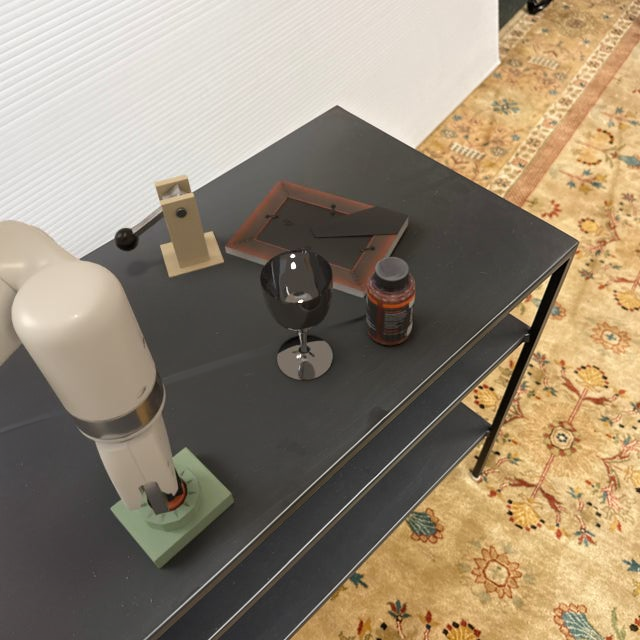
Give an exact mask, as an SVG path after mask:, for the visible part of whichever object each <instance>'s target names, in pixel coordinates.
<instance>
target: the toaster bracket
mask: <svg viewBox="0 0 640 640" xmlns="http://www.w3.org/2000/svg"><path fill="white" fill-rule="evenodd" d="M153 184H154V187H155V190H156V193H157V197H158V200H159V203H160V206H161V207H162V210H163V213H164V217H163V218H164V220H165V224H166V227H167V230H168V233H169V237H170V242H167V243H163V244H160V245H159V247H160V250H161V254H162V257H163V261H164V264H165V268H166V272H167V274H168V278H169V279H171V278H175V277H179V276H182V275H186V274H189V273H192V272H196V271H199V270H203V269H207V268H210V267H213V266H217V265H221V264H225V260H224V257H223V254H222V251H221V249H220V246H219V243H218V241H217V238H216V236H215V233H214V231H213V230H211V231H208V232H204V228H203V225H202V220H201V216H200V213H199V209H198V205H197V201H196V197H195V193H194V192H193V191H192V188H191V185H190V181H189V178H188V175H187V174H183V175H178V176H174V177H170V178H167V179H162V180H159V181H154V182H153ZM177 184H178V185H179V186H180V187H181V188H183V189H184V190H185V191H186V192H187V194H184V195H180V196H176V197H172V198H168V199H164V200H163V199H162V196H163V195H164V194H165V193H167V192H168V191H169V190H170V189H172V188H173V187H174V186H175V185H177Z"/></svg>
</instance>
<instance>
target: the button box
mask: <svg viewBox="0 0 640 640" xmlns="http://www.w3.org/2000/svg"><path fill="white" fill-rule="evenodd" d="M172 458H173V463H174V467H175V469H176V471H177V473H178V475H179V477H180V479H181V482H182V483H183V485H184V488H185V490H186V492H187V496H186V498H185V501H184V503H183V504H182V505H181V506H179V507H178V508H177V509H176V510H174V511H170V512H167V513H162V514H159V515H155V513H154V510H153V508H152V506H151V504H150V502H149V499H148V497H147V495H146V493H145V491H144V493H142V494H143V497H144V498H143V502H142V506H141V508H139V509H135V510H130V509H128V508H127V507H126V506H125V505H124V503H123V501H122V500H121V499H120V500H118V501H117V502H116V503H115V504H113V505H112V506H111V507H110V511H111V512H112V513H113V515H114V516H115V518H116V519H117V520H118V521H119V522H120V524H121V525H122V526H123V527H124V528H125V530H126V531H127V532H128V533H129V535H130V536H131V537H132V538H133V539H134V540H135V542H136V543H137V545H139V547H140V548H141V549H142V550H143V552H144V553H145V554H146V555H147V556H148V558H149V559H150V560H151V561H152V562H153V563H154V565H155V566H156V568H158V569H159V570H160V569H162V568H163V567H164V566H165V564H167V563H169V561H170V560H171V559H172V558H173V557H174V556H176V555H177V554H178V553H179V552H181V550H183V549H184V548H185V547H186V546H187V545H188V544H189V543H191V541H193V540H194V539H195V538H196V537H197V536H198V535H199V534H200V533H202V532H203V531H204V530H205V529H206V528H207V527H208V526H209V525H210V524H211V523H213V522H214V521H215V520H216V519H217V518H218V517H219V516H221V515H222V514H223V513H224V512H225V511H227V509H228V508H230V507H231V506H232V505H233V504H234V503H235V499H234V497H233V493H232V492H231V491H230V490H229V489H228V488H227V487H226V486H225V485H224V484H223V483H222V482H221V481H220V480H219V479H218V478H217V477H216V476H215V474H214V473H212V472H211V471H210V470H209V469H208V468H207V466H205V464H204V463H202V462H201V461H200V459H198V457H196V455H195V454H193V453H192V452H191V450H190V449H189V448H187V447H186V446H185V447H184V448H183V449H181V450H180V451H178V452H177V453H176V454H175V455H174V456H172Z"/></svg>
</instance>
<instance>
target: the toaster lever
mask: <svg viewBox="0 0 640 640" xmlns="http://www.w3.org/2000/svg"><path fill="white" fill-rule="evenodd" d="M184 194H187V192H186V191H185V190H184V189H183V188H181V187H180V186H179V185H178V184H177V185H175V186H174V187H173V188H172V189H170V190H169V191H168V192H167V193H165V194H164V195H163V196H162V199H163V200H164V199H168V198H172V197H176V196H180V195H184ZM163 218H165V217H164V213H163V210H162V207H161V205H160V206H159V207H158V208H156V209H155V210H154V211H152V212H151V213H150V214H148V215H147V216H146V217H145V218H143V219H142V220H141V221H140V222H138V223H137V224H136V225H135V226H133V227H132V228H131V227H122V228H120V229H118V230H117V231H116V232H115V235H114V238H113V239H114V240H113V241H114V244H115V246H116V248H117V249H119V250H120V251H122V252H131V251H134V250H136V248H137V247H138V246H139V242H140V236H142V235H143V234H145V233H146V232H147V231H148V230H150V229H151V228H152V227H153V226H155V225H156V224H157V223H158V222H159V221H161V220H163Z"/></svg>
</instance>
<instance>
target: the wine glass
mask: <svg viewBox="0 0 640 640" xmlns="http://www.w3.org/2000/svg"><path fill="white" fill-rule="evenodd" d="M259 278H260V279H259V280H260V288H261V292H262V296H263V300H264V303H265V306H266V308H267V310H268V313H269V314H270V315H271V318H273V320H274V321H275V322H276V323H277V324H278V325H279V326H281V327H282V328H284V329H286V330H289V331H293V332H296V334H297V336H294V337H291V338H289V339H288V340H286V341H285V342H284V343H283V344H282V345H281V346H280V348H279V349H278V351H277V356H276V363H277V366H278V368H279V370H280V371H281V373H283V374H284V375H285V376H287V377H288V378H290V379H292V380H296V381H311V380H315V379H318V378H320V377H322V376H323V375H324V374H325V373H327V372H328V371H329V369H330V368H331V366H332V365H333V361H334V353H333V350H332V348H331V346H330V344H329V343H328V342H327V341H325V339H322V338H320V337H318V336H316V335H311V334H308V331H309V330H312V329H314V328H316V327H317V326H318V325H320V324H321V323H322V322H323V321H324V320H325V319H326V317H327V315H328V313H329V310H330V307H331V305H332V300H333V294H334V288H333V274H332V269H331V266H330V264H329V263H328V262H327V261H326V260H325V259H324V258H323V257H322V256H320V255H318V254H316V253H313V252H310V251H305V250H293V251H287V252H284V253H281V254H279V255H277V256H275V257H273V258H272V259H270V260H269V261H268V262H267V263H266V264H265V266H264V265H263V267H262V269H261V272H260V275H259Z"/></svg>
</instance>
